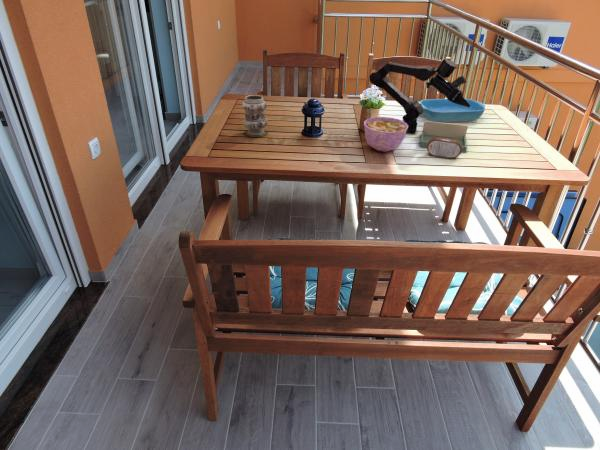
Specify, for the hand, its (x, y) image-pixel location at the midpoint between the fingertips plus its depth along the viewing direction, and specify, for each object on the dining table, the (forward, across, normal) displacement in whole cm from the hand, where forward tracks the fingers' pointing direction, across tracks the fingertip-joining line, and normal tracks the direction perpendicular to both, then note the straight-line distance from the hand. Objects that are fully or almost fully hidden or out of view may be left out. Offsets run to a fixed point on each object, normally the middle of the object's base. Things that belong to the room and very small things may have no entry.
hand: (469, 106), depth 192 cm
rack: (+2, +1, +20) cm, 20 cm away
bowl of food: (-17, -17, +36) cm, 44 cm away
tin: (+6, -14, +23) cm, 28 cm away
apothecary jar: (-70, -28, +68) cm, 102 cm away
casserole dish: (-6, +41, +11) cm, 43 cm away
